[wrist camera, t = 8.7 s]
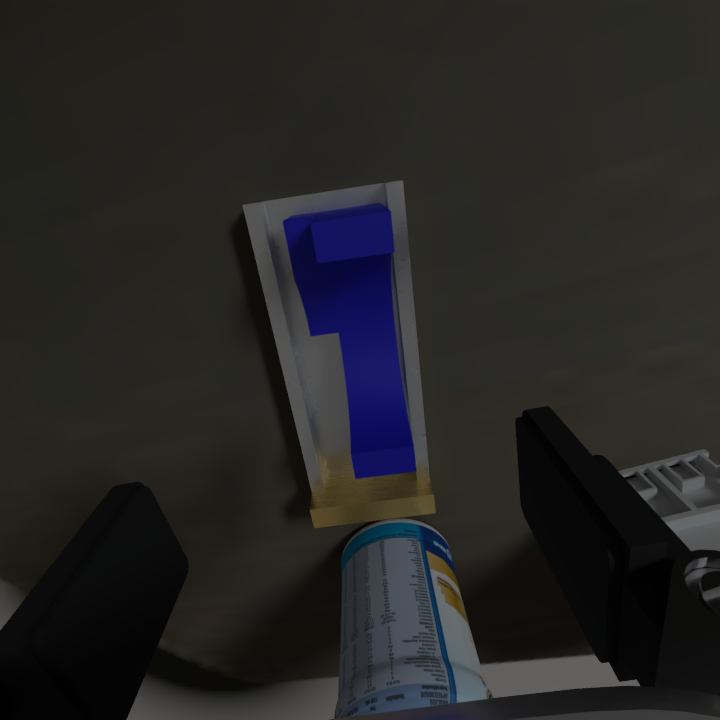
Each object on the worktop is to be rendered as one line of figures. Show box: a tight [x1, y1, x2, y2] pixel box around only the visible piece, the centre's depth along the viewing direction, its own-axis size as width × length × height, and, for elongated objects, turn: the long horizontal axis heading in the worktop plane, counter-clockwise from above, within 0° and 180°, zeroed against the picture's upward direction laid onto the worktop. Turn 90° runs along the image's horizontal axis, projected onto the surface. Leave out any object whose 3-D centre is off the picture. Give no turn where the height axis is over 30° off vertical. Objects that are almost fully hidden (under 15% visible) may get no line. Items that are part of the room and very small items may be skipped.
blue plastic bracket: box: [283, 203, 416, 479], centre depth 20 cm, size 12×4×6 cm, turn 8°
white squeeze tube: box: [243, 180, 436, 528], centre depth 23 cm, size 8×19×3 cm, turn 8°
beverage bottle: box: [335, 518, 493, 719], centre depth 22 cm, size 8×8×20 cm
